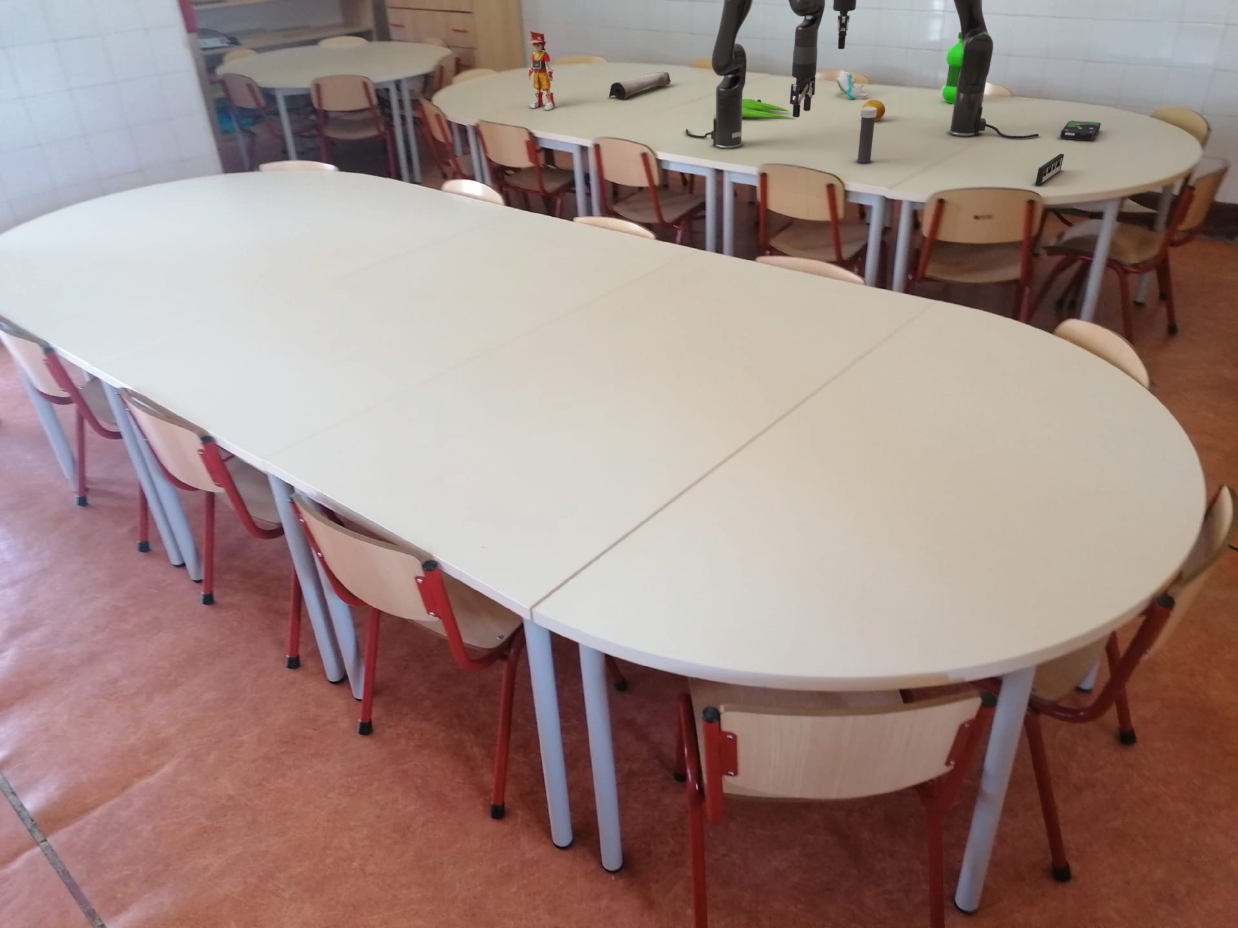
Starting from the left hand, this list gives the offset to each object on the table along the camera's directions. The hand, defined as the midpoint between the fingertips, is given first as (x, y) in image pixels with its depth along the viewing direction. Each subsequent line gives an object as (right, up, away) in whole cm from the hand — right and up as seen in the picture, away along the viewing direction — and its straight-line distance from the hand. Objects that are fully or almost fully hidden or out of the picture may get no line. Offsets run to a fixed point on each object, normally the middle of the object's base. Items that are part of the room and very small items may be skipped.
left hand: (801, 114), depth 292 cm
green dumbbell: (+73, +29, +63) cm, 101 cm away
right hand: (+18, +31, +19) cm, 40 cm away
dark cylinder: (+22, -14, +6) cm, 26 cm away
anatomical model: (+36, +39, +80) cm, 96 cm away
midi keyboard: (+72, -27, -17) cm, 79 cm away
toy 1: (-92, +38, +91) cm, 135 cm away
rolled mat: (-50, +51, +105) cm, 127 cm away
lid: (+21, 0, -4) cm, 21 cm away
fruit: (+36, +16, +47) cm, 62 cm away
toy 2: (-5, +24, +62) cm, 66 cm away
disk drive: (+100, 0, +18) cm, 102 cm away
